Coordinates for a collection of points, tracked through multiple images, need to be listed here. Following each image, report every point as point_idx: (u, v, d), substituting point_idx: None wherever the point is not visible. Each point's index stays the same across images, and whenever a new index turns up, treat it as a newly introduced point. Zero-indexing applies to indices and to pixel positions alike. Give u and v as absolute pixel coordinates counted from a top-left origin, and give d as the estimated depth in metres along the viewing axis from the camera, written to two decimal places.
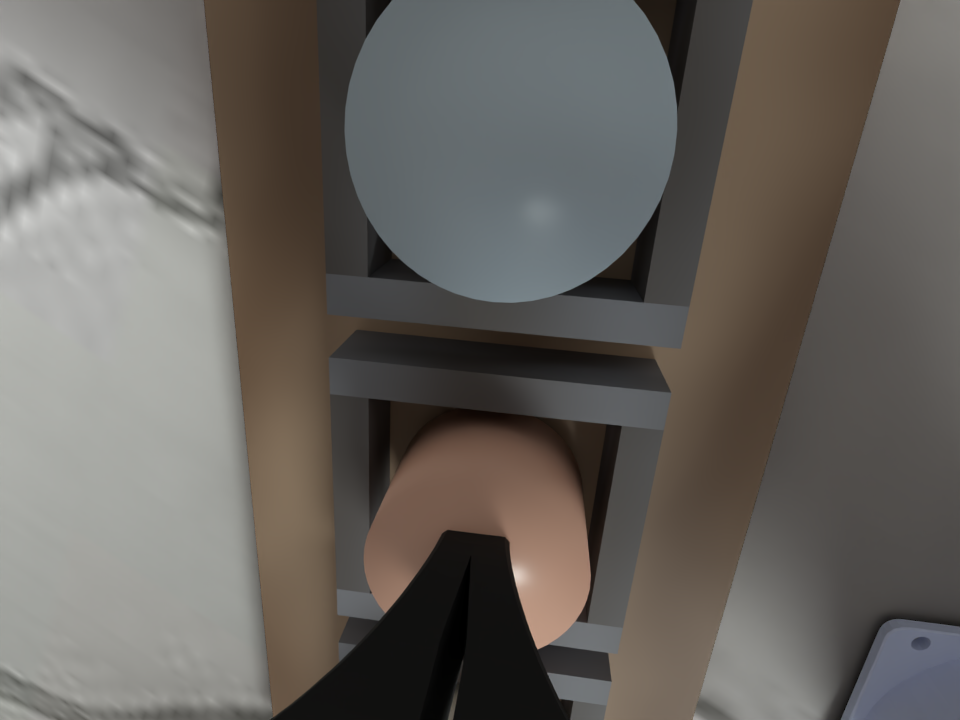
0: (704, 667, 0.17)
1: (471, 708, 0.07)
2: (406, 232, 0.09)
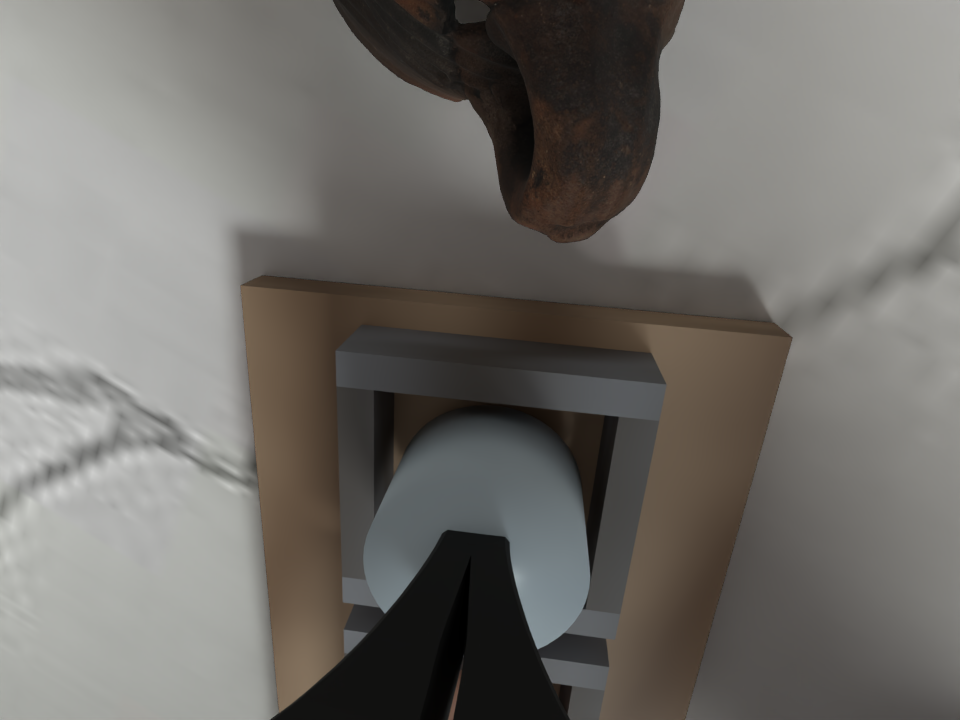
0: None
1: (471, 709, 0.07)
2: None
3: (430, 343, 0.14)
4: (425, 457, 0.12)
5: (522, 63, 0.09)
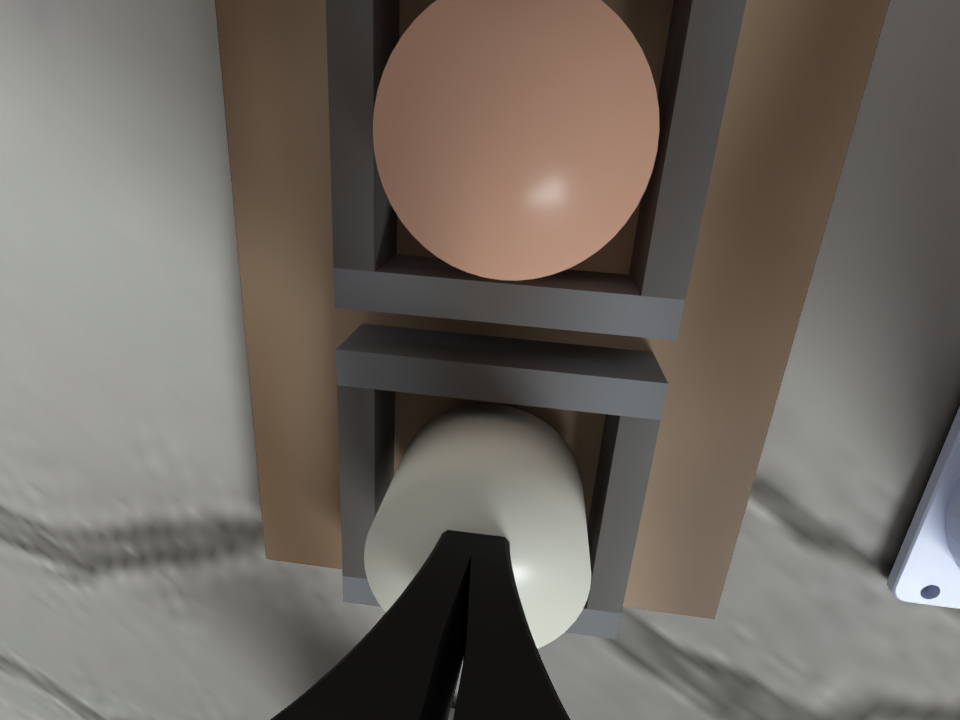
0: (770, 408, 0.15)
1: (471, 708, 0.07)
2: None
3: None
4: None
5: None
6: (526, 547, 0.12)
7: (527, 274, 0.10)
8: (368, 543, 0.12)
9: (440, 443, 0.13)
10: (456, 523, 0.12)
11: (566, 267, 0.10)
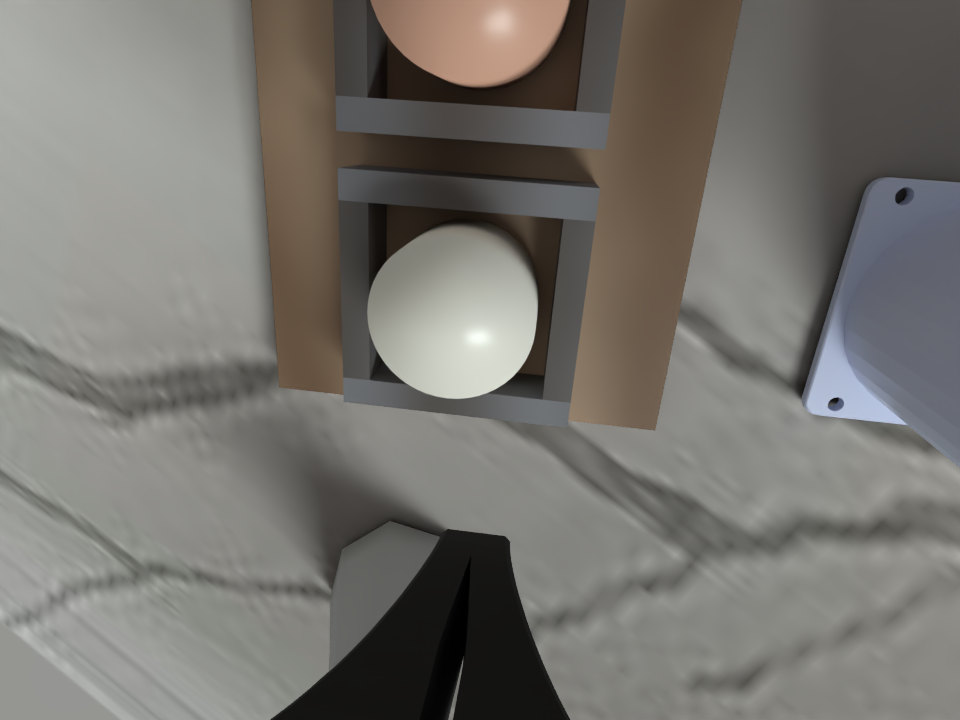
0: (692, 230, 0.18)
1: (471, 708, 0.07)
2: None
3: None
4: None
5: None
6: (487, 296, 0.16)
7: (481, 75, 0.14)
8: (370, 299, 0.16)
9: (425, 233, 0.17)
10: (435, 278, 0.16)
11: (510, 67, 0.14)
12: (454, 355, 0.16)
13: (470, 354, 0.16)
